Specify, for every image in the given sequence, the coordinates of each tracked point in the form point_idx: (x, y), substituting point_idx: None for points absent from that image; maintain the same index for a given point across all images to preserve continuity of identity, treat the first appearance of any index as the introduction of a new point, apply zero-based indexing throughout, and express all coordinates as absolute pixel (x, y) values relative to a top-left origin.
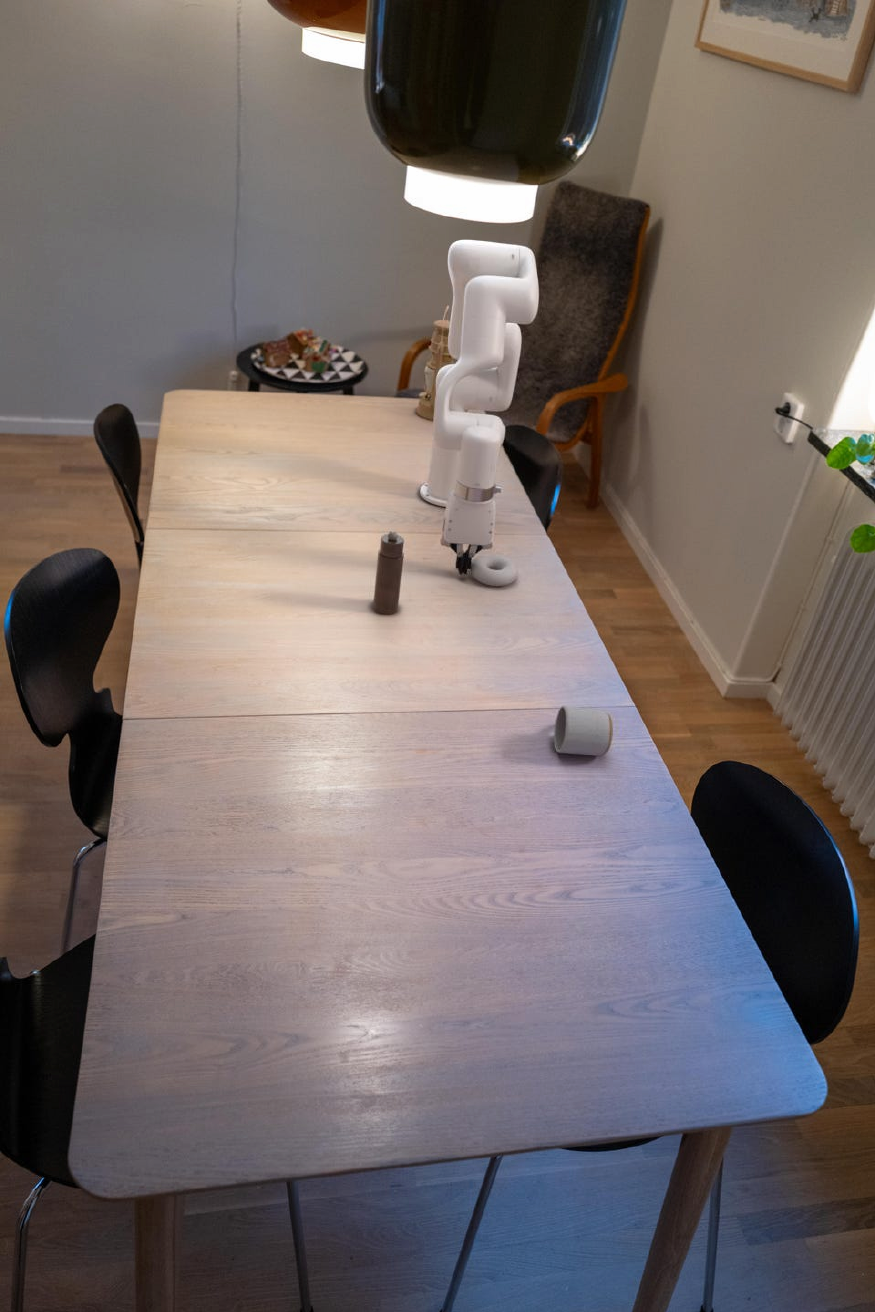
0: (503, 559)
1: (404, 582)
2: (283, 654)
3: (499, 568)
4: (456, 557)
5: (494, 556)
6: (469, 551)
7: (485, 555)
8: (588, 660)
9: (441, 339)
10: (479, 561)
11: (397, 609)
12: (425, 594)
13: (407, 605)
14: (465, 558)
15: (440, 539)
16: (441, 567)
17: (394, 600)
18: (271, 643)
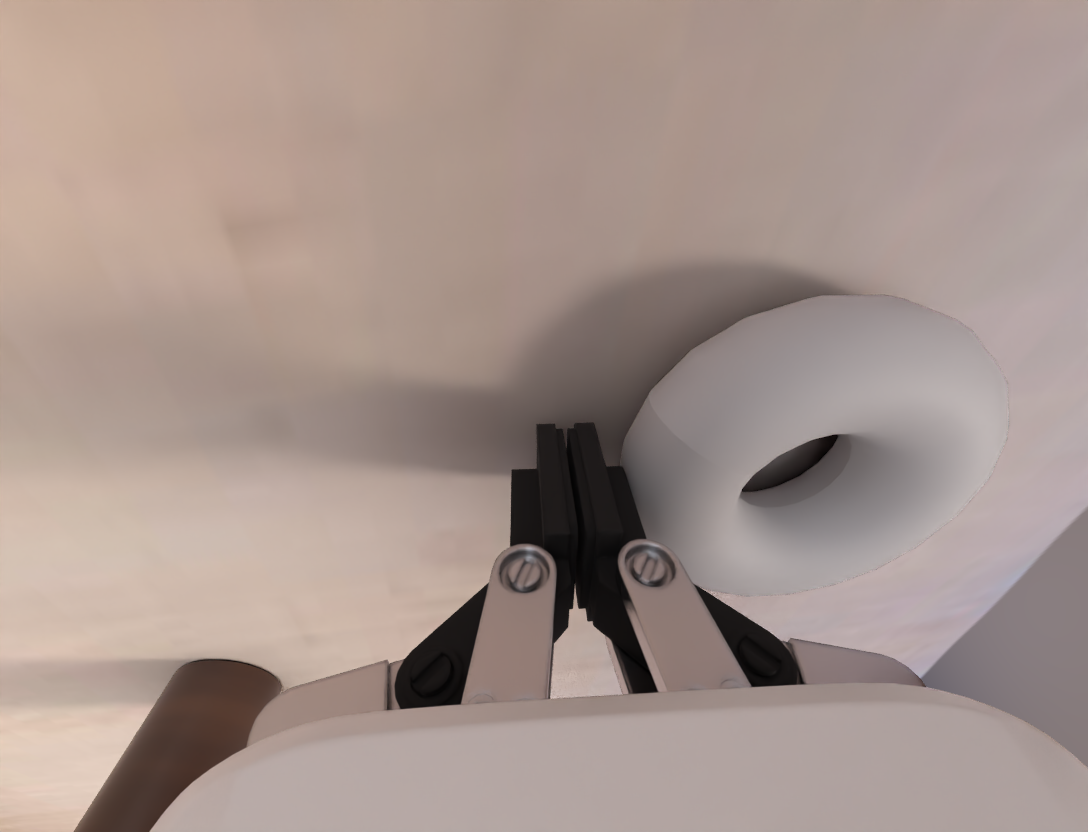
0: (942, 451)
1: (226, 545)
2: (72, 805)
3: (848, 438)
4: (511, 516)
5: (891, 418)
6: (617, 670)
7: (808, 418)
8: None
9: None
10: (704, 512)
11: (279, 692)
12: (366, 605)
13: (309, 662)
14: (578, 598)
15: (250, 743)
16: (418, 362)
17: None
18: (6, 794)
